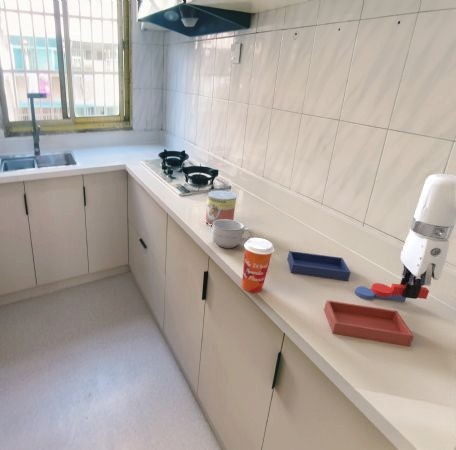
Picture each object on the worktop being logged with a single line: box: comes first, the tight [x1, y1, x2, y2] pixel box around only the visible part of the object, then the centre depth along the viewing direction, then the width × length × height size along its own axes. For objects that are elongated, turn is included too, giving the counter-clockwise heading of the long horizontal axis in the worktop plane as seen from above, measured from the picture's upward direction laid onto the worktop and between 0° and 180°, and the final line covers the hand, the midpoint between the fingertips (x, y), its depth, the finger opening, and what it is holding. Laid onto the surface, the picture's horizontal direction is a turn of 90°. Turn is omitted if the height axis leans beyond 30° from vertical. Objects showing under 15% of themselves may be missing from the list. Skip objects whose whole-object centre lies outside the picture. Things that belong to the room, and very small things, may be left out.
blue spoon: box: [354, 285, 407, 303], centre depth 93 cm, size 12×5×2 cm, turn 77°
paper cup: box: [241, 237, 275, 294], centre depth 93 cm, size 8×8×14 cm
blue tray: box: [287, 250, 352, 282], centre depth 106 cm, size 16×9×3 cm, turn 77°
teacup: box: [211, 219, 254, 249], centre depth 118 cm, size 14×11×8 cm
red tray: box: [323, 299, 415, 347], centre depth 81 cm, size 16×9×3 cm, turn 77°
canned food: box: [205, 189, 238, 225], centre depth 136 cm, size 11×11×12 cm
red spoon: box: [370, 282, 430, 300], centre depth 85 cm, size 12×5×2 cm, turn 77°
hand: (407, 294), depth 85 cm, fingers closed on red spoon, 1 cm apart
